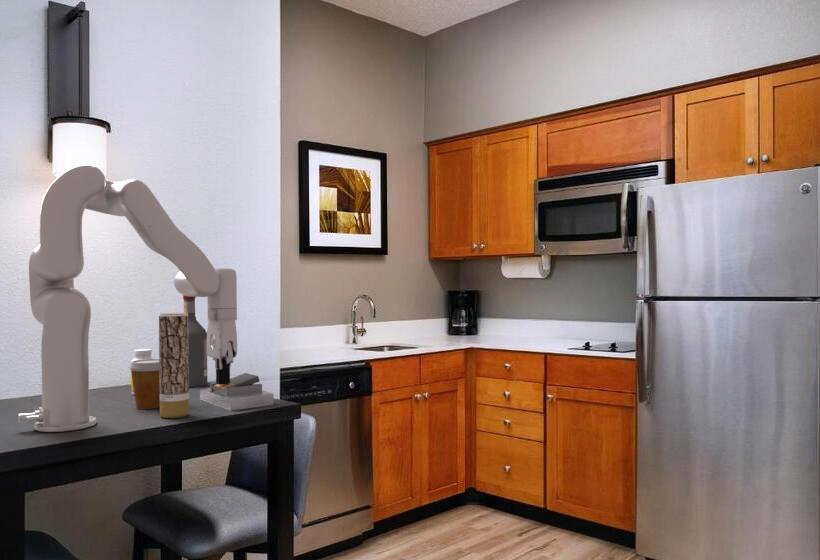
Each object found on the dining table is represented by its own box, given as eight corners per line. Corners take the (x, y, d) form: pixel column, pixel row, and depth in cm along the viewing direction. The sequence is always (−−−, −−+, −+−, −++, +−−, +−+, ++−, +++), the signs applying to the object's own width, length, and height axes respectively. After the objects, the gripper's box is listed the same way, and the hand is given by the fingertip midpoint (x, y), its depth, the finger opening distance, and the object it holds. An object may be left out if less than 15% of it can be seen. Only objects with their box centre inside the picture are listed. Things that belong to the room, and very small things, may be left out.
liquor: (181, 388, 202) (180, 289, 202) (170, 385, 209) (169, 289, 209) (210, 385, 208) (209, 289, 208) (198, 381, 215) (197, 288, 215)
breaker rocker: (225, 395, 174) (223, 389, 174) (213, 391, 180) (211, 385, 180) (259, 381, 180) (258, 375, 180) (246, 377, 186) (245, 372, 186)
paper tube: (179, 419, 159) (178, 314, 158) (154, 418, 160) (153, 314, 160) (194, 413, 165) (193, 312, 165) (169, 412, 167) (168, 312, 167)
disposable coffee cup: (154, 402, 181) (154, 357, 181) (176, 405, 176) (175, 360, 176) (121, 407, 173) (121, 361, 173) (143, 412, 168) (142, 364, 168)
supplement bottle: (147, 391, 199) (146, 348, 199) (160, 393, 195) (160, 349, 195) (126, 394, 193) (125, 350, 193) (139, 396, 189) (139, 351, 189)
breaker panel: (230, 410, 169) (230, 391, 168) (200, 399, 184) (199, 381, 184) (273, 404, 176) (273, 385, 176) (240, 394, 192) (240, 377, 192)
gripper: (197, 314, 181) (198, 381, 181) (220, 316, 169) (221, 389, 170) (224, 313, 186) (224, 379, 186) (247, 315, 174) (248, 385, 174)
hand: (223, 383), depth 178 cm, fingers closed
